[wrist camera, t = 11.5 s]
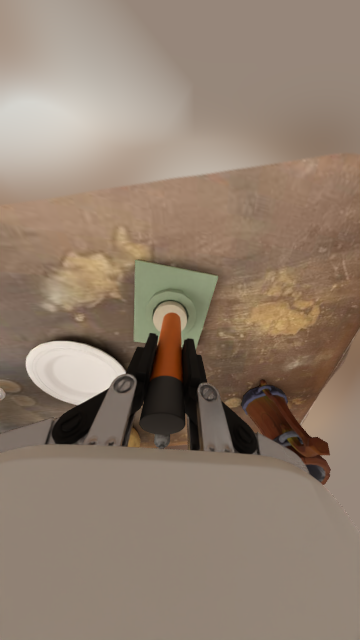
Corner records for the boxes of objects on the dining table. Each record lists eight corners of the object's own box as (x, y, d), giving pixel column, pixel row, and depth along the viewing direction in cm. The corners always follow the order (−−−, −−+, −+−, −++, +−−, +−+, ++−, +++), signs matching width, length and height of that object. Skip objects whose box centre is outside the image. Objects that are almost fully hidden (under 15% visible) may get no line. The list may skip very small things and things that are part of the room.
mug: (237, 372, 30) (285, 465, 17) (288, 362, 29) (383, 455, 16) (240, 411, 38) (273, 496, 25) (279, 405, 37) (337, 490, 24)
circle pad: (156, 298, 19) (154, 302, 17) (189, 303, 19) (190, 308, 18) (153, 326, 21) (151, 332, 19) (183, 331, 21) (183, 337, 20)
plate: (130, 341, 25) (127, 347, 24) (133, 402, 35) (130, 409, 33) (16, 329, 23) (3, 335, 22) (51, 396, 33) (44, 404, 31)
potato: (126, 436, 44) (118, 463, 39) (113, 420, 39) (103, 448, 33) (144, 434, 44) (140, 461, 38) (134, 418, 39) (127, 445, 33)
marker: (164, 310, 15) (139, 410, 6) (182, 313, 16) (189, 415, 6) (161, 326, 16) (138, 433, 7) (179, 329, 17) (180, 436, 7)
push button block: (137, 259, 18) (131, 260, 16) (216, 274, 20) (222, 278, 17) (135, 337, 25) (130, 347, 22) (195, 345, 26) (197, 355, 23)
